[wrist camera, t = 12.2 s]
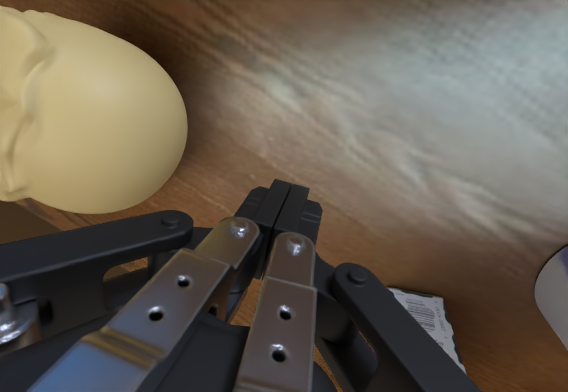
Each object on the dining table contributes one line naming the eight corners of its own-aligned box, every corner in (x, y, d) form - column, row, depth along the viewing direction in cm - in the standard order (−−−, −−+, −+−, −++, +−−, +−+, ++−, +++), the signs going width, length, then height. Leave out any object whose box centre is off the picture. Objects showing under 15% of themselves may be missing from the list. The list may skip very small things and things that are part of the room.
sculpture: (81, -9, 23) (-120, -46, 13) (229, 86, 23) (143, 118, 14) (52, 128, 28) (-106, 174, 18) (174, 202, 29) (84, 284, 19)
